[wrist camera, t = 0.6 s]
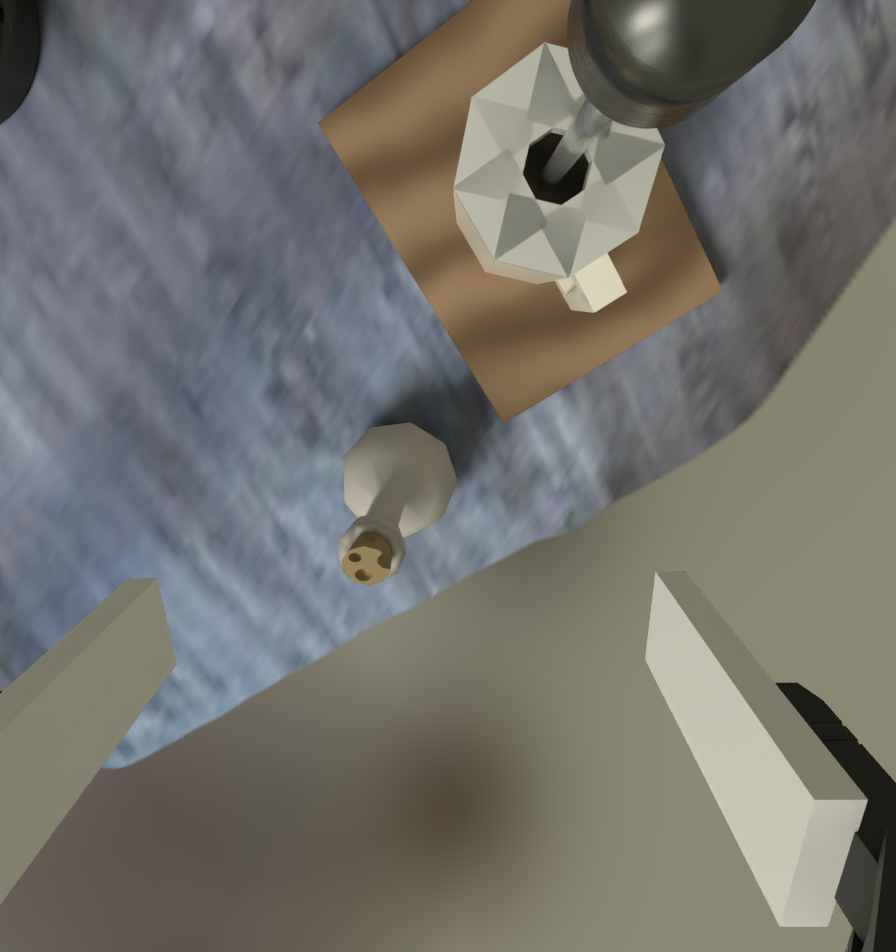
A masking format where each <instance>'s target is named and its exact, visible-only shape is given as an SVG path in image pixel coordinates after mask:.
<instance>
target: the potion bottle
mask: <svg viewBox="0 0 896 952" xmlns="http://www.w3.org/2000/svg"><path fill="white" fill-rule="evenodd" d="M457 482H458V480H457V477H456V474H455V471H454V468H453V465H452V462H451V459H450V456H449V453H448V450H447V447H446V444H445V443H443V442H442V441H440V440H438V439H437V438H435V437H434V436H432V435H430V434H429V433H427V432H425V431H424V430H422V429H421V428H419V427H417V426H416V425H414V424H412V423H410V422H409V423H402V424H394V425H386V426H379V427H371V428H369V429H368V430H367V431H366V432H365V433H364V434H363V435H362V437H361V438H360V439H359V440H358V441H357V442H356V443H355V445H354V446H353V447H352V448H351V449H350V450H349V451H348V453H347V454H346V455H345V456H344V495H345V504H346V505H347V506H348V507H349V508H350V509H351V510H352V512H353V513H354V514H355V515H356V516H357V517H358V519H357V520H356V521H355V522H354V523H353V524H352V525H351V526H350V527H349V528H348V530H347V531H346V532H345V533H344V534H343V535H342V536H341V537H340V538H339V539H338V541H339V561H340V562H341V563H342V567H343V572H344V573H345V574H346V575H347V576H348V577H349V578H350V579H352V580H353V581H354V582H357V583H362V584H367V585H371V584H375V583H379V582H382V581H384V579H385V578H387V577H390V576H392V575H394V574H396V573H398V570H399V568H400V566H401V563H402V561H403V559H404V556H405V554H406V550H405V542H404V539H403V537H406V536H409V535H411V534H413V533H415V532H417V531H419V530H421V529H423V528H425V527H427V526H429V525H431V524H434V523H436V522H437V521H438V520H439V519H440V518H441V517H442V516H443V514H444V512H445V510H446V507H447V505H448V503H449V500H450V498H451V496H452V494H453V491H454V489H455V487H456V484H457Z"/></svg>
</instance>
